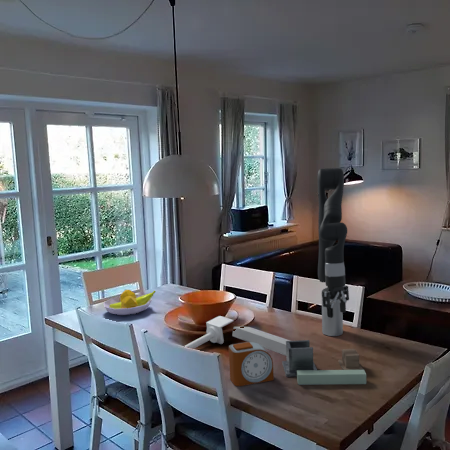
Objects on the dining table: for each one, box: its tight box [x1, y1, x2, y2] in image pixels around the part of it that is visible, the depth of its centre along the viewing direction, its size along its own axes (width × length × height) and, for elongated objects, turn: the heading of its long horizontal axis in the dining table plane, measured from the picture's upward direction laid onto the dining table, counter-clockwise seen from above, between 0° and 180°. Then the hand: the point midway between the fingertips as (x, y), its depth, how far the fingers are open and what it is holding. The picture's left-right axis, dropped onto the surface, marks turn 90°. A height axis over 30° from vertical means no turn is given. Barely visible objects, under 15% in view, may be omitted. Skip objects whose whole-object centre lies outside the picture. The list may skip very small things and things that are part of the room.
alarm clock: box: [228, 341, 275, 387], centre depth 171 cm, size 15×8×14 cm, turn 106°
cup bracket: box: [281, 339, 318, 378], centre depth 178 cm, size 11×12×10 cm
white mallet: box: [184, 315, 234, 350], centre depth 204 cm, size 9×9×32 cm
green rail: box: [296, 369, 367, 386], centre depth 167 cm, size 4×24×4 cm, turn 86°
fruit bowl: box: [103, 289, 156, 316], centre depth 258 cm, size 28×27×11 cm
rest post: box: [338, 348, 364, 370], centre depth 178 cm, size 9×7×6 cm
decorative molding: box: [231, 326, 291, 357], centre depth 206 cm, size 34×5×10 cm
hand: (336, 314), depth 182 cm, fingers open, 8 cm apart
